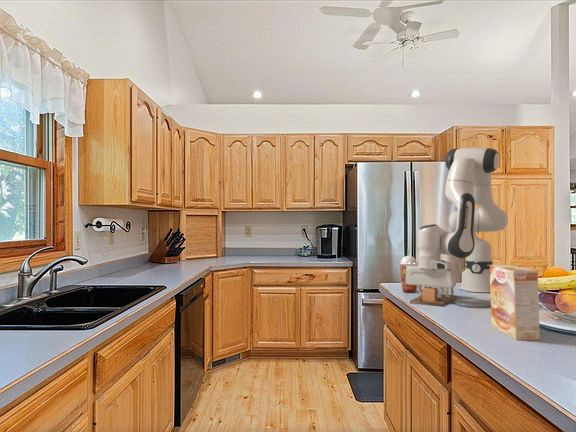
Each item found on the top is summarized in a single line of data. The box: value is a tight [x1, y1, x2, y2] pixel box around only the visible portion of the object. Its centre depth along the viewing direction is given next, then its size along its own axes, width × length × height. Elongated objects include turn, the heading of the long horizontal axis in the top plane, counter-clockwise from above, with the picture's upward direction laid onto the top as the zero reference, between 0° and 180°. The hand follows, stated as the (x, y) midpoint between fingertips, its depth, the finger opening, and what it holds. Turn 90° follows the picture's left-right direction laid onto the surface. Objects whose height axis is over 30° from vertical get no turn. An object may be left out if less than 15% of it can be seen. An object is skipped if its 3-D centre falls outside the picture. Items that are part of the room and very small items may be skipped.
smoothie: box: [399, 249, 418, 294], centre depth 196 cm, size 8×8×20 cm
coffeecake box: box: [490, 264, 541, 341], centre depth 122 cm, size 15×7×20 cm, turn 178°
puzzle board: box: [409, 293, 457, 307], centre depth 174 cm, size 22×13×1 cm, turn 144°
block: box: [421, 286, 439, 302], centre depth 170 cm, size 5×5×6 cm
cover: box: [422, 286, 455, 297], centre depth 179 cm, size 9×11×11 cm
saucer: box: [454, 298, 491, 309], centre depth 164 cm, size 14×14×1 cm
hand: (430, 297), depth 170 cm, fingers open, 6 cm apart
